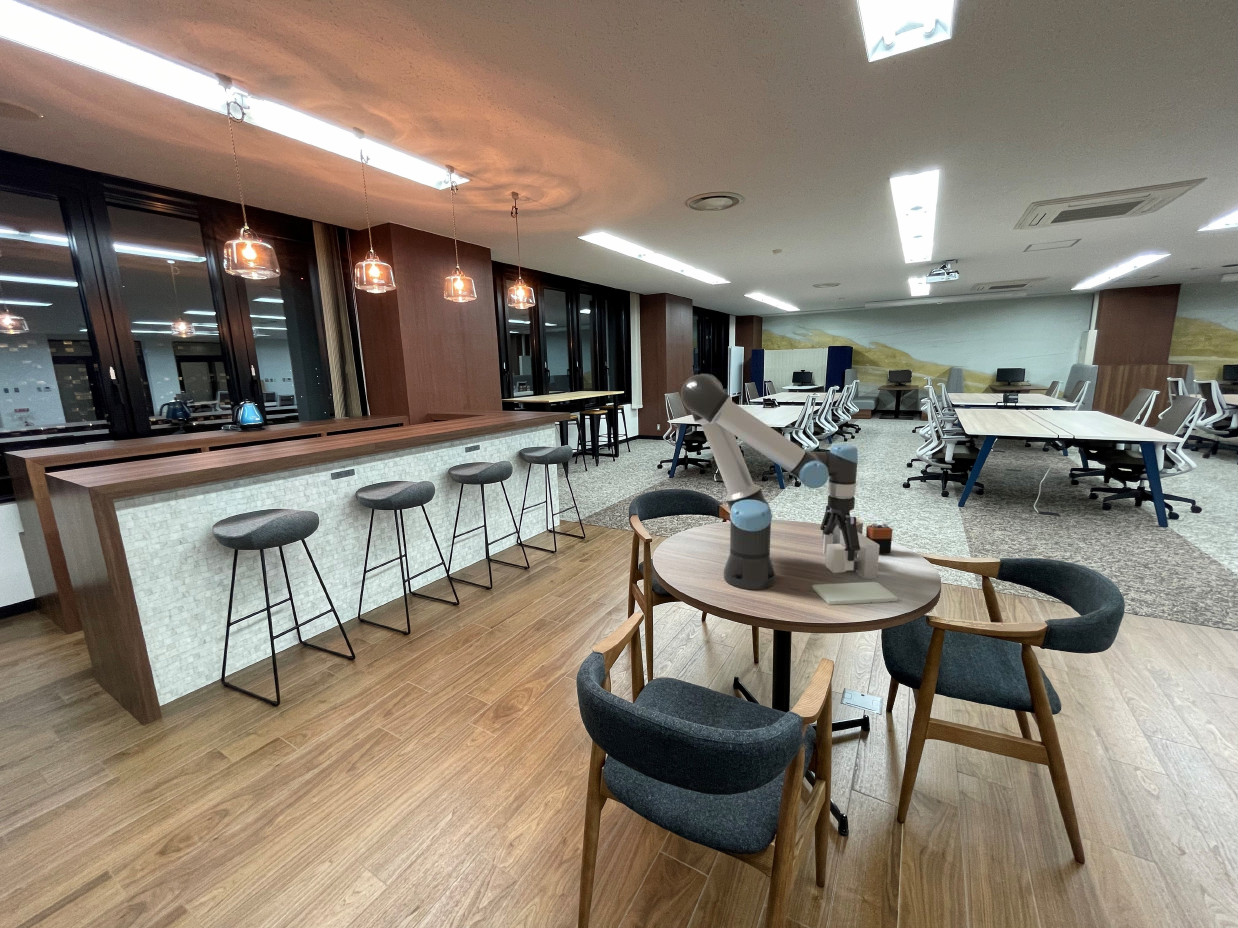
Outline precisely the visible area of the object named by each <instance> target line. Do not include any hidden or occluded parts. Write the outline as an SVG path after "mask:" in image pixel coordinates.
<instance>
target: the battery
mask: <svg viewBox="0 0 1238 928" xmlns="http://www.w3.org/2000/svg"><path fill="white" fill-rule="evenodd" d="M865 533H866V534H865V537H867V538H869V539H870V540H872V541H874V542H875V543H877V544H879V545H880V546H879V555H890V554H891V553H892V552H891V551H892V540H893V528H892V527H890V526H888V524H886V523H882V524H878V523H871V525H869V524H868V525H867V526H866V530H865Z"/></svg>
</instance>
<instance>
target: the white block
mask: <svg viewBox="0 0 1238 928" xmlns="http://www.w3.org/2000/svg"><path fill="white" fill-rule="evenodd" d="M844 549H845V547H843V546H842V545H840V544H827V552H826V554H825V567H826V568H827V569H829V571H831V573H833V574H836V573H837V574H838V573H846V572H848V571H849V572H850V571H857V562H858V556H857V557H855V558H854V568H853V570H846V571H844V570H843V566H844V551H845V550H844Z"/></svg>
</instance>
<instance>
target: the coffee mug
mask: <svg viewBox="0 0 1238 928" xmlns="http://www.w3.org/2000/svg"><path fill="white" fill-rule="evenodd" d="M863 526H864V521H863V520H862V519H860V518H858V517H856V527H857V532H859V533H861V534H862V535H863ZM840 531H841V529H839V526H838V525H837V526H836V527H835V529H834V530H833V533H834V534H832V535H833V544H840ZM821 536H822V539H823V540H824V534H823V530H821Z"/></svg>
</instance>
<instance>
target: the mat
mask: <svg viewBox="0 0 1238 928" xmlns="http://www.w3.org/2000/svg"><path fill="white" fill-rule="evenodd" d="M811 589H812V590H814V592H815V593H817V594H818V596H820V598H821V599H823V601H825V603H827V604H828V605H847V604H848V605H849V604H850V605H851V604H867V603H870V602H872V603H889V602H890V601H893V602H898V600H899V599H898V597H897V596H896V595H894V593H892V592H890V591H889V590H888V589H887V588H885V587H884V586H883V585H881V584H880V583H878V582H877V581H865V582H848V583H847V582H846V583H845V582H843V583H824V584H822V583H821V584H812V585H811ZM870 604H871V603H870Z"/></svg>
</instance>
